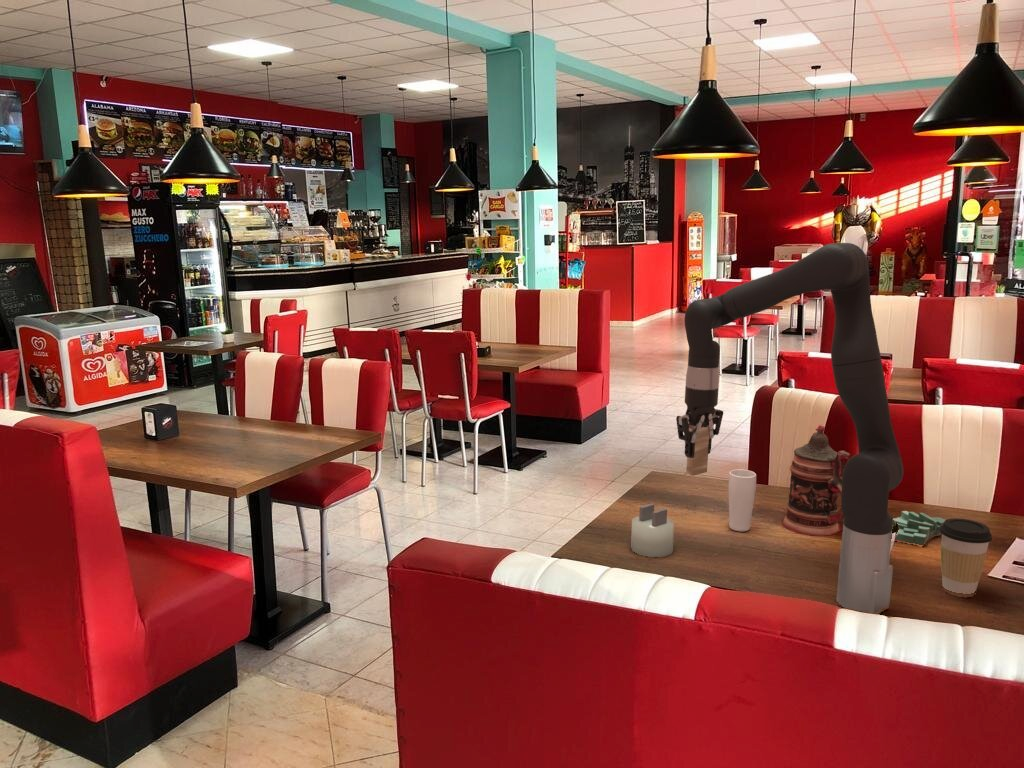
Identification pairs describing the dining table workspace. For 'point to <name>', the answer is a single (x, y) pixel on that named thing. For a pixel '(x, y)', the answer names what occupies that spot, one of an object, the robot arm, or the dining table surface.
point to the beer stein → (815, 488)
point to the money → (917, 527)
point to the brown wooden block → (699, 453)
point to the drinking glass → (741, 498)
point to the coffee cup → (963, 554)
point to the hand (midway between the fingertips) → (697, 454)
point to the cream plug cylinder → (652, 532)
